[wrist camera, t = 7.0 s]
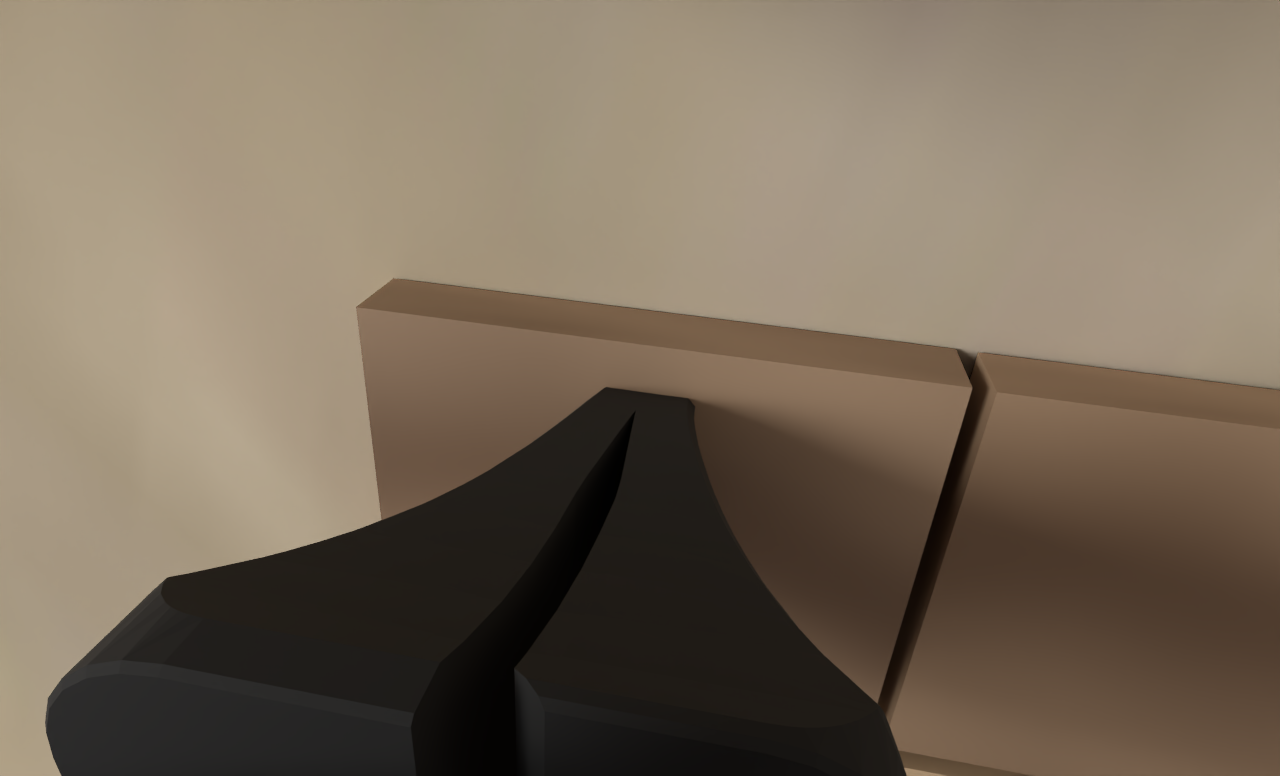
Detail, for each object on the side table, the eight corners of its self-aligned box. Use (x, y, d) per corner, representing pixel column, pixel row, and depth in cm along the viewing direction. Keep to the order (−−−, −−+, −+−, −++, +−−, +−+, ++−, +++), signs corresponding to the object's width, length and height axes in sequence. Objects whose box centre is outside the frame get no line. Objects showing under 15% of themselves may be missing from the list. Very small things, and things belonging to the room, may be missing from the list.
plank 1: (859, 688, 15) (865, 743, 14) (424, 610, 16) (398, 656, 15) (956, 349, 11) (972, 388, 10) (393, 278, 12) (356, 307, 11)
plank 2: (1380, 781, 13) (1429, 849, 12) (876, 691, 15) (882, 747, 13) (1659, 437, 10) (1758, 491, 9) (977, 352, 11) (997, 392, 10)
